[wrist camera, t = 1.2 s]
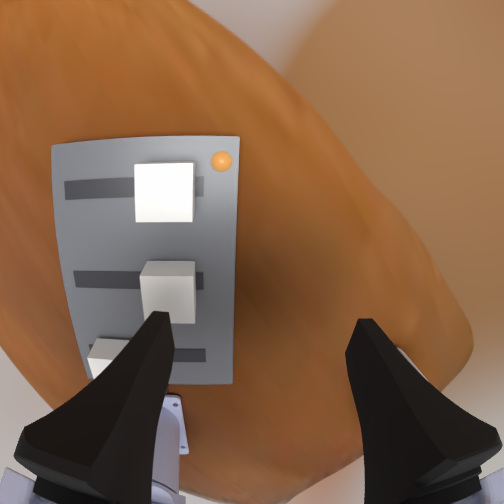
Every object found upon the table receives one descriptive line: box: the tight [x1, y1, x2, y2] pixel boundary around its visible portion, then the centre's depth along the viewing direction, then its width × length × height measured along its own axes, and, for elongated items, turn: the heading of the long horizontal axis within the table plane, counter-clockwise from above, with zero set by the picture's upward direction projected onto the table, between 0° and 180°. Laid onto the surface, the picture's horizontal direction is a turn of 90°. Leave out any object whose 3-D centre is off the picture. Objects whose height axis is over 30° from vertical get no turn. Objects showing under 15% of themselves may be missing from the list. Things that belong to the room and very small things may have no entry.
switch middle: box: [140, 261, 196, 324], centre depth 18 cm, size 3×3×2 cm
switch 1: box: [87, 338, 130, 379], centre depth 19 cm, size 3×3×2 cm
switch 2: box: [134, 161, 195, 222], centre depth 16 cm, size 3×3×2 cm
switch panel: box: [51, 136, 240, 393], centre depth 20 cm, size 20×12×2 cm, turn 177°
